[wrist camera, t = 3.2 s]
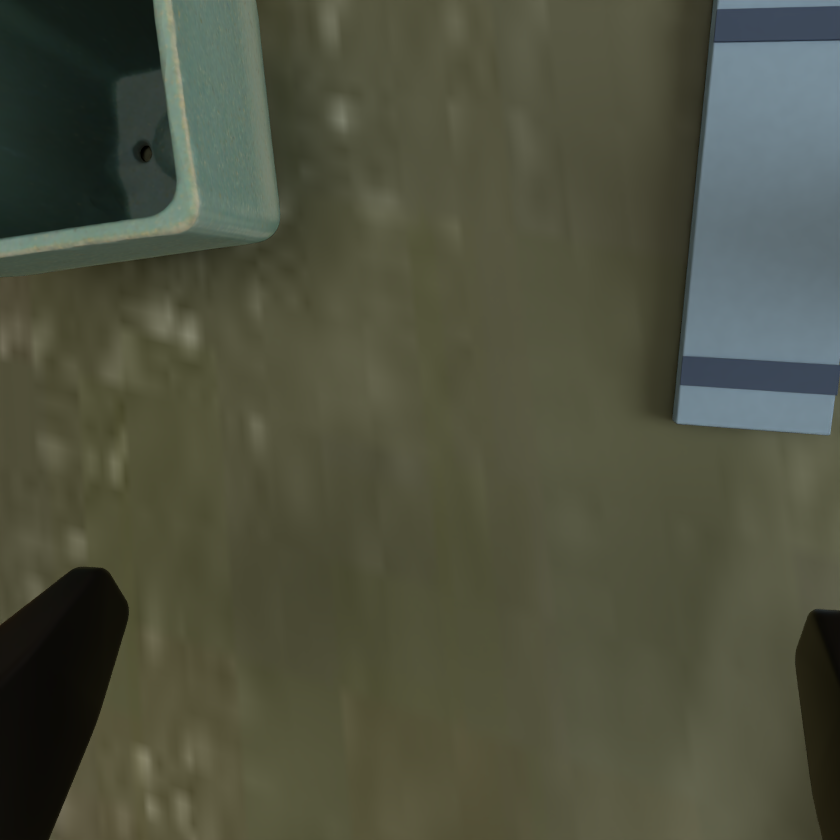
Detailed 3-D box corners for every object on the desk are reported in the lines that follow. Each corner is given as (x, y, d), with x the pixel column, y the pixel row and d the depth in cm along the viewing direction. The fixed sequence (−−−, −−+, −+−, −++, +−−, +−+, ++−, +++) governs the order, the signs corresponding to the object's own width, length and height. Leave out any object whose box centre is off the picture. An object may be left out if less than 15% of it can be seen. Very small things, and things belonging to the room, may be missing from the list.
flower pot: (50, 26, 24) (-246, -148, 15) (308, -31, 22) (137, -265, 14) (90, 300, 25) (-170, 284, 16) (342, 267, 23) (201, 228, 14)
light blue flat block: (877, -26, 19) (892, -43, 19) (821, 431, 21) (832, 436, 20) (715, -21, 20) (721, -37, 19) (672, 420, 22) (676, 424, 21)
